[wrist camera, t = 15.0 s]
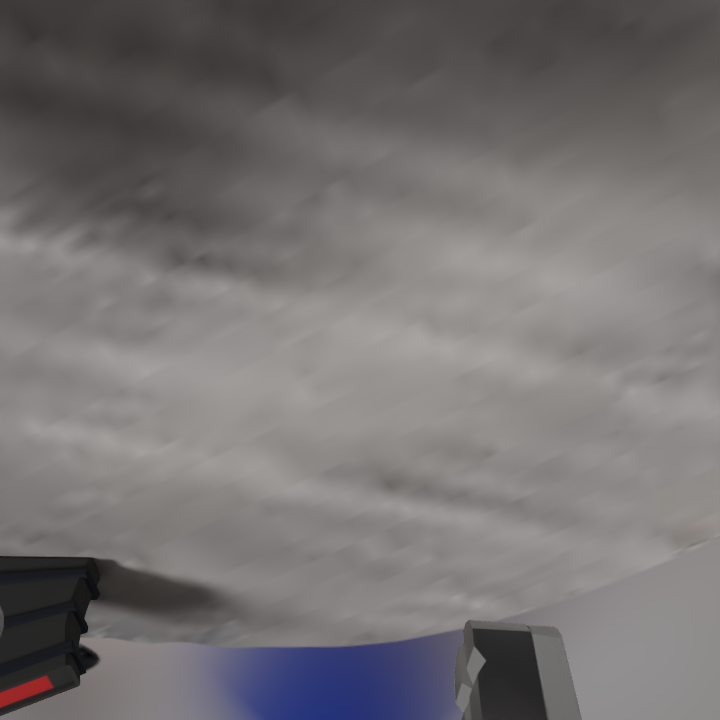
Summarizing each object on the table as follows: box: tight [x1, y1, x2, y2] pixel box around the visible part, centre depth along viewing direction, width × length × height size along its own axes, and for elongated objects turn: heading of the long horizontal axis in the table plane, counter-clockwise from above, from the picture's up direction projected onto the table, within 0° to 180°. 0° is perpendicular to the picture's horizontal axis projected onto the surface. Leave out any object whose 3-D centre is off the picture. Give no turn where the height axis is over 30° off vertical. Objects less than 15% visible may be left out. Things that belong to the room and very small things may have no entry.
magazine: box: [0, 557, 100, 716], centre depth 55 cm, size 4×13×15 cm, turn 93°
